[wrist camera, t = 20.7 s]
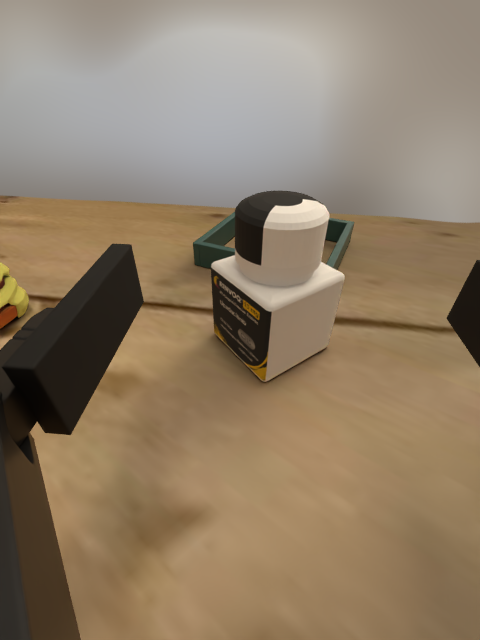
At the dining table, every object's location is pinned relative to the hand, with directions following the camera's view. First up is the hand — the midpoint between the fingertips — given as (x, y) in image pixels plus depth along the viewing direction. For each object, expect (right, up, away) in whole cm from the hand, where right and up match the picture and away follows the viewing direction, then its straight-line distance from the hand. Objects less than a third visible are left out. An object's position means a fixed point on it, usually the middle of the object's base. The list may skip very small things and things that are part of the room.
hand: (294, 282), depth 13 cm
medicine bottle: (0, -3, +15) cm, 15 cm away
